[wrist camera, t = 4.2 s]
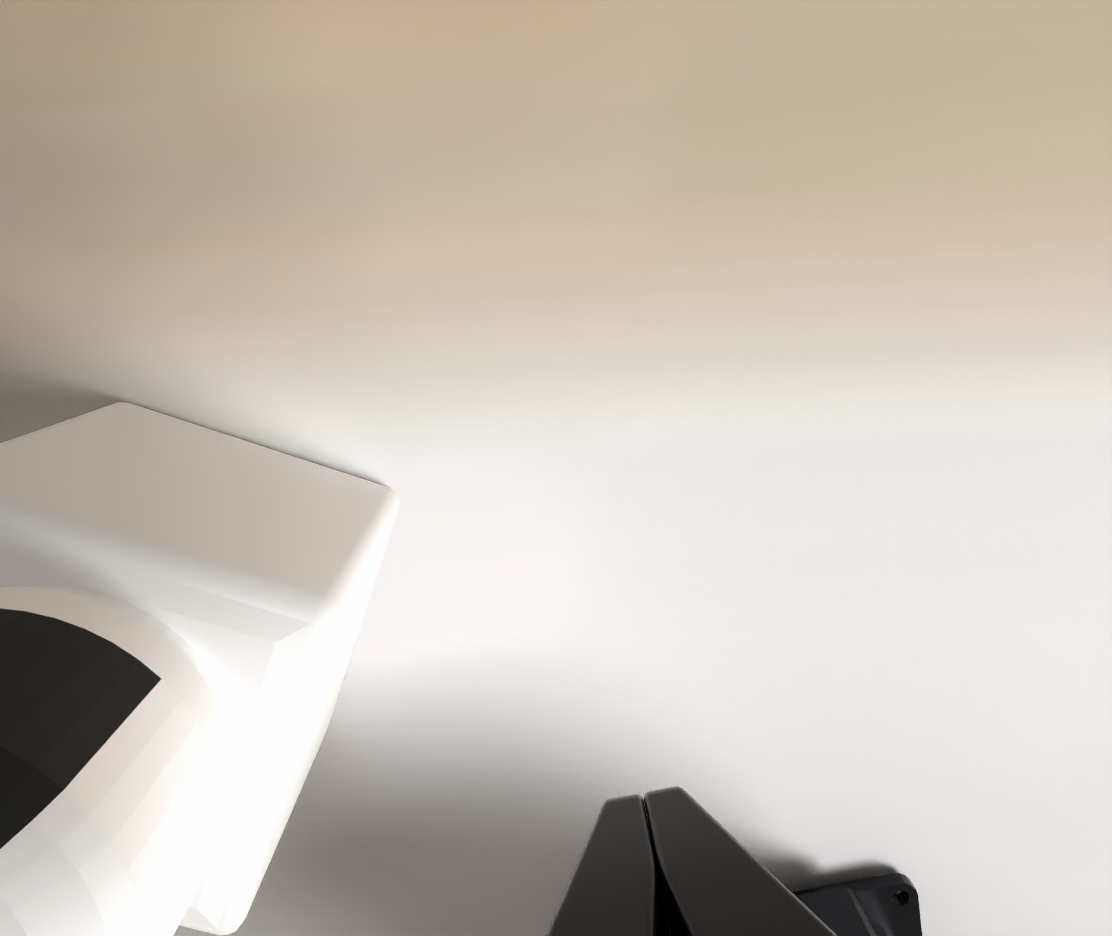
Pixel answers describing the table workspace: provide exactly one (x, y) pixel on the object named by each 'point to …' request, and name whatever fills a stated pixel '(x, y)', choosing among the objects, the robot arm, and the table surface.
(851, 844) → the table surface
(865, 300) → the table surface
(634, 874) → the robot arm
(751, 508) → the table surface
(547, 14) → the table surface
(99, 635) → the medicine bottle
